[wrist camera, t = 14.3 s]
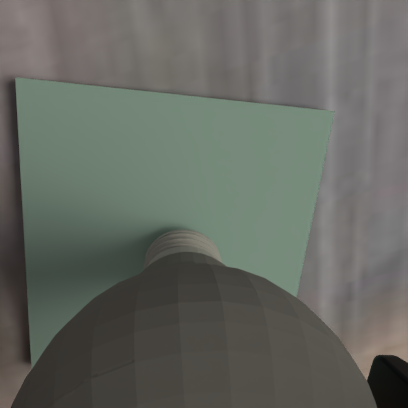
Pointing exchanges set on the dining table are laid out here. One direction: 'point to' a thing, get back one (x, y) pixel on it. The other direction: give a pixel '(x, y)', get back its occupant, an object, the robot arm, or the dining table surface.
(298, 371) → the light bulb
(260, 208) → the mat
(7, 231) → the dining table surface
